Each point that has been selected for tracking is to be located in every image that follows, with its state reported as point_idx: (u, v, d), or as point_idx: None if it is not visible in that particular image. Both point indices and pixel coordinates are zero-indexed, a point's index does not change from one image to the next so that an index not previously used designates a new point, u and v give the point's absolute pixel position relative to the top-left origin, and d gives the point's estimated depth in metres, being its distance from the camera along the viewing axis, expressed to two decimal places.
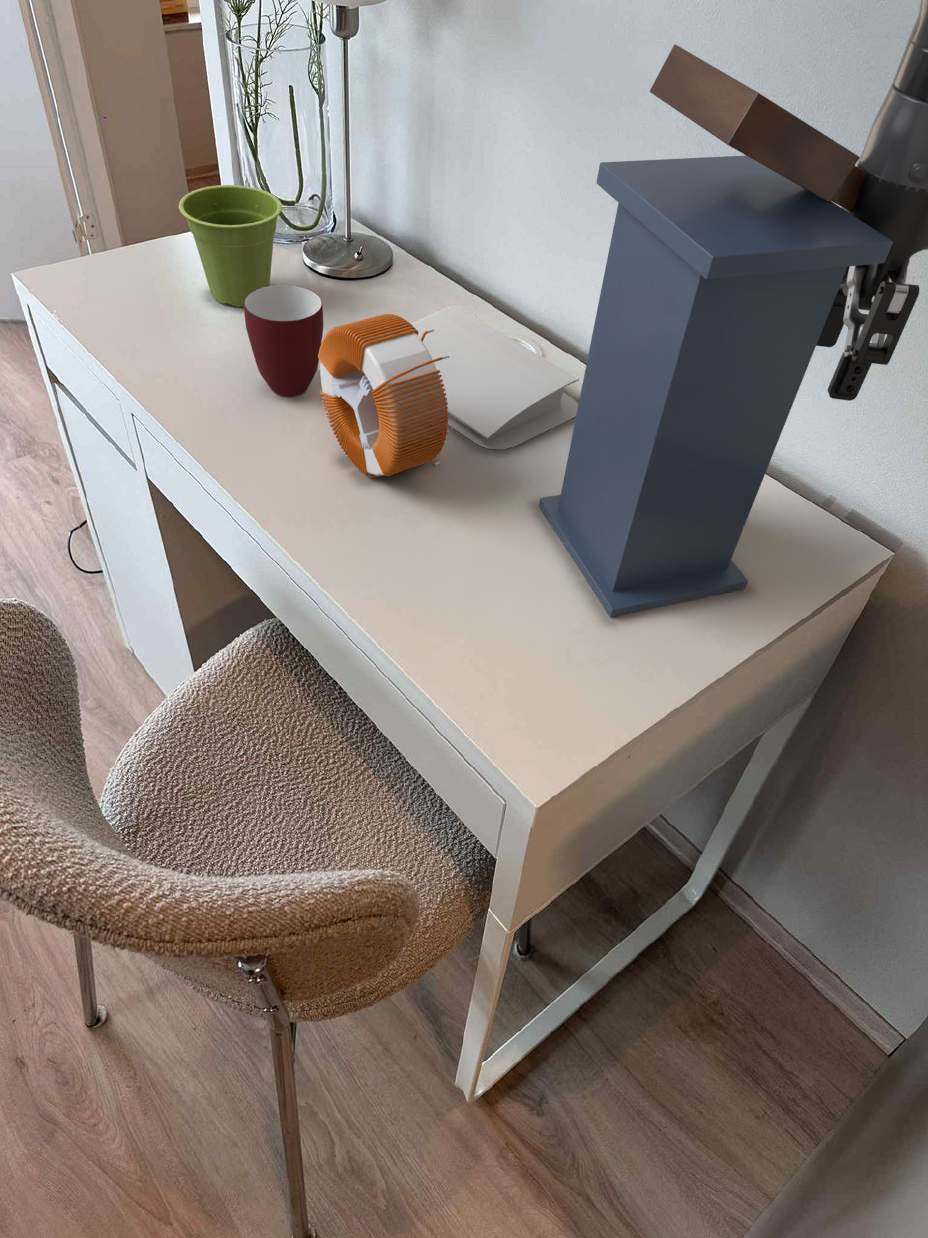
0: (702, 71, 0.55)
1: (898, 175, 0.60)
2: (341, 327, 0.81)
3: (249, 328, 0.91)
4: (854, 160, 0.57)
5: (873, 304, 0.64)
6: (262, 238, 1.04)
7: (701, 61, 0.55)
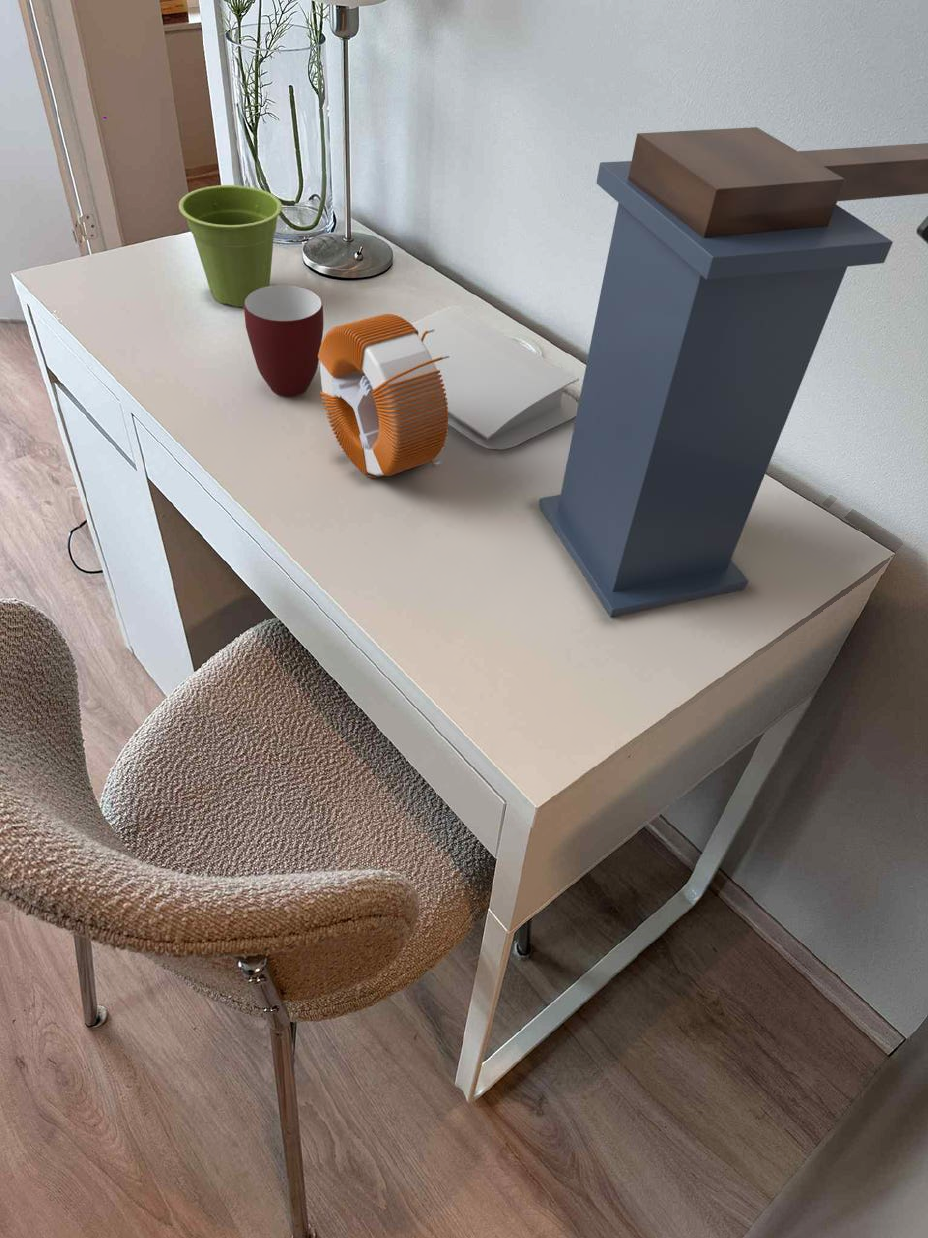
0: (666, 163, 0.58)
1: None
2: (341, 327, 0.81)
3: (249, 328, 0.91)
4: (840, 184, 0.58)
5: None
6: (262, 238, 1.04)
7: (663, 153, 0.58)
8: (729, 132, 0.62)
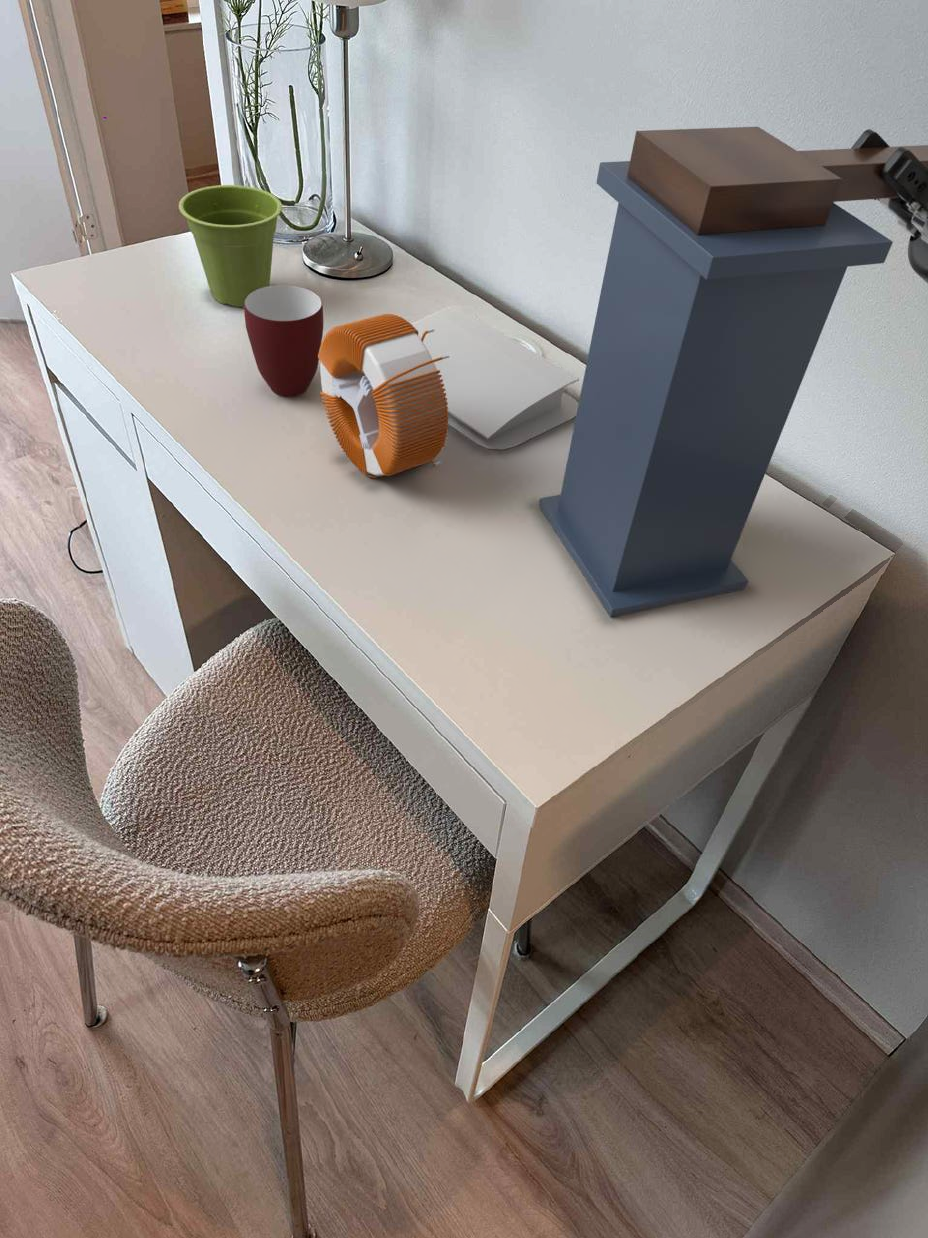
0: (663, 160, 0.59)
1: None
2: (341, 327, 0.81)
3: (249, 328, 0.91)
4: (837, 184, 0.58)
5: None
6: (262, 238, 1.04)
7: (660, 151, 0.59)
8: (729, 131, 0.62)
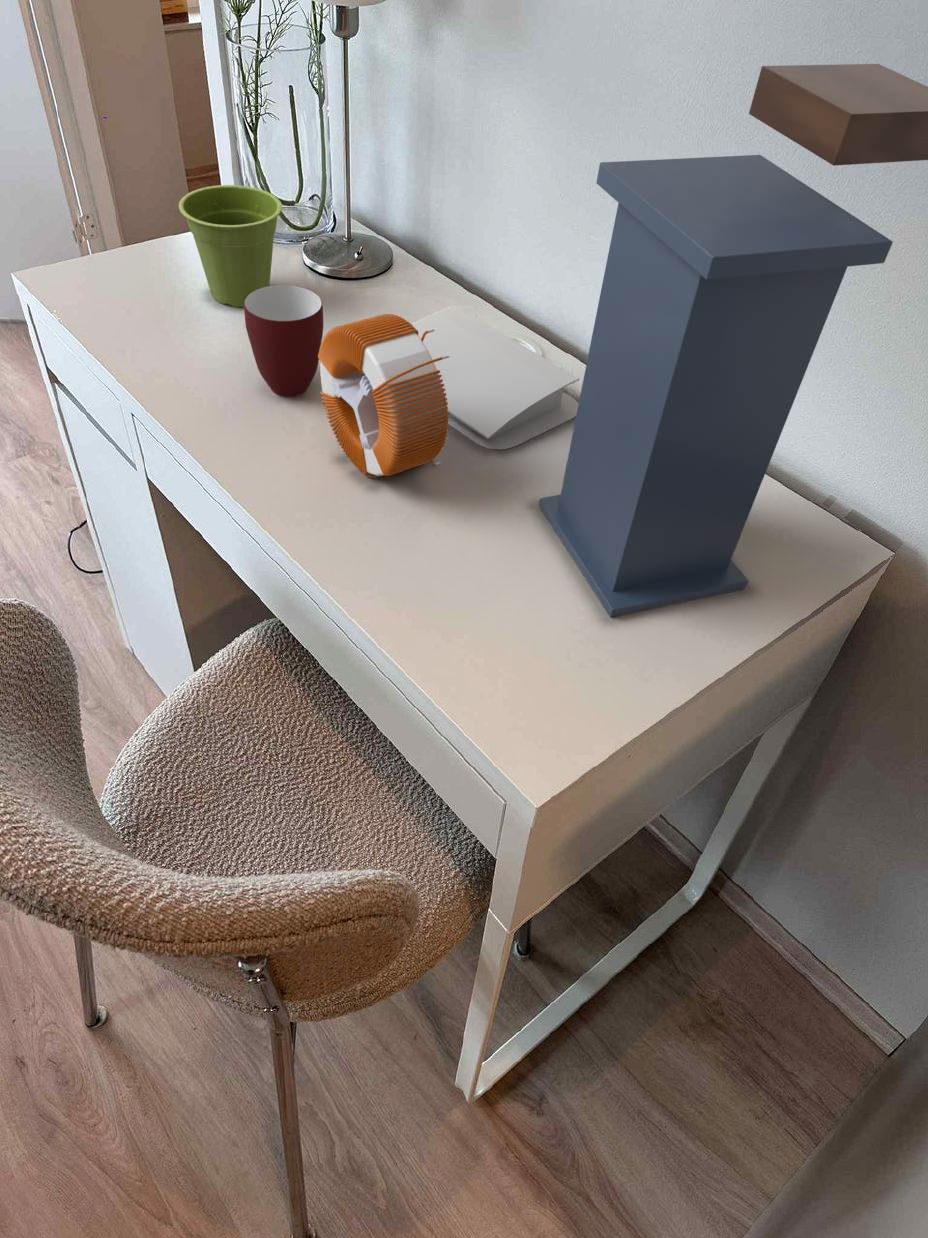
0: (794, 93, 0.58)
1: None
2: (341, 327, 0.81)
3: (249, 328, 0.91)
4: None
5: None
6: (262, 238, 1.04)
7: (791, 83, 0.59)
8: (852, 67, 0.62)
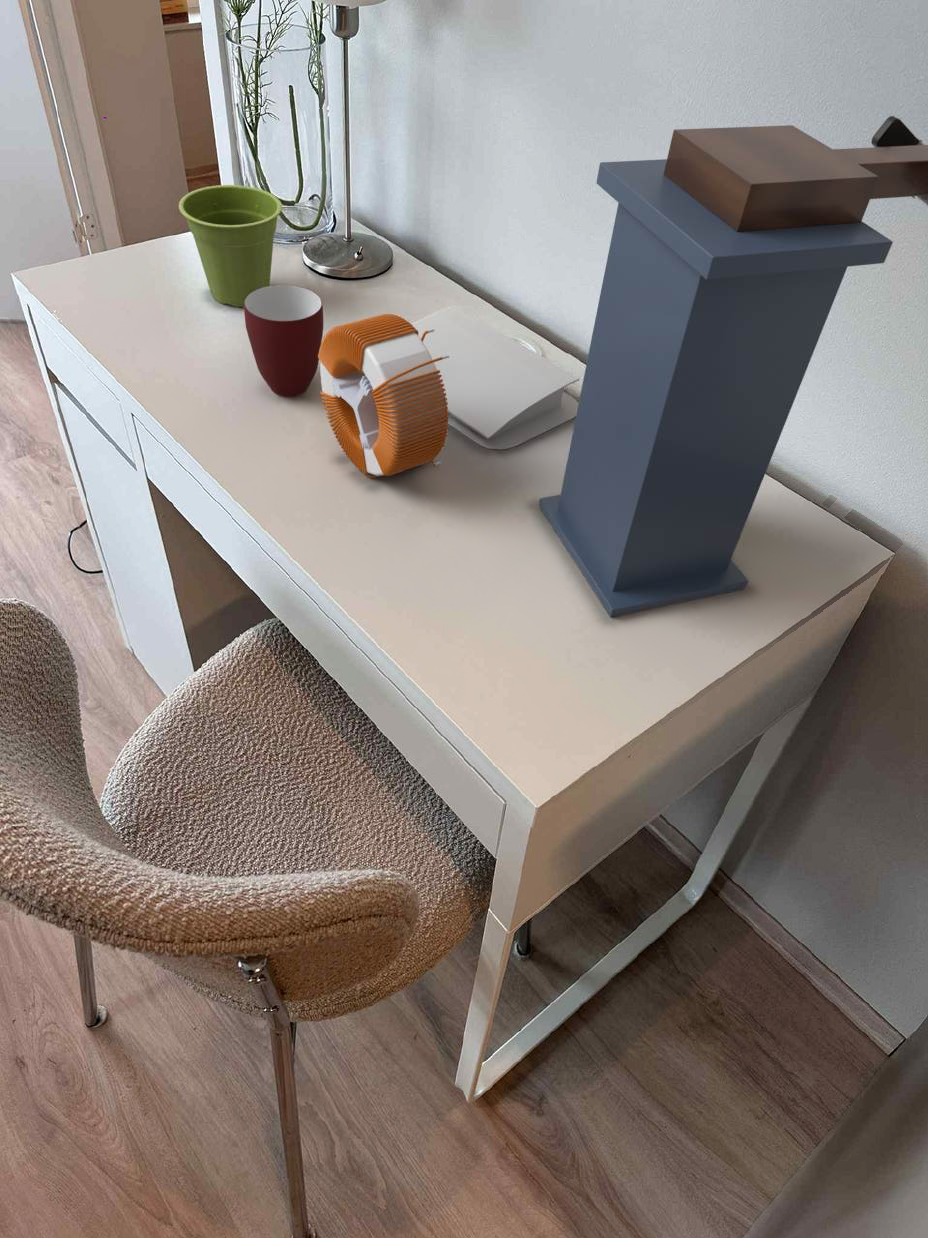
0: (702, 159, 0.59)
1: None
2: (341, 327, 0.81)
3: (249, 328, 0.91)
4: (873, 181, 0.58)
5: None
6: (262, 238, 1.04)
7: (699, 149, 0.60)
8: (765, 130, 0.63)
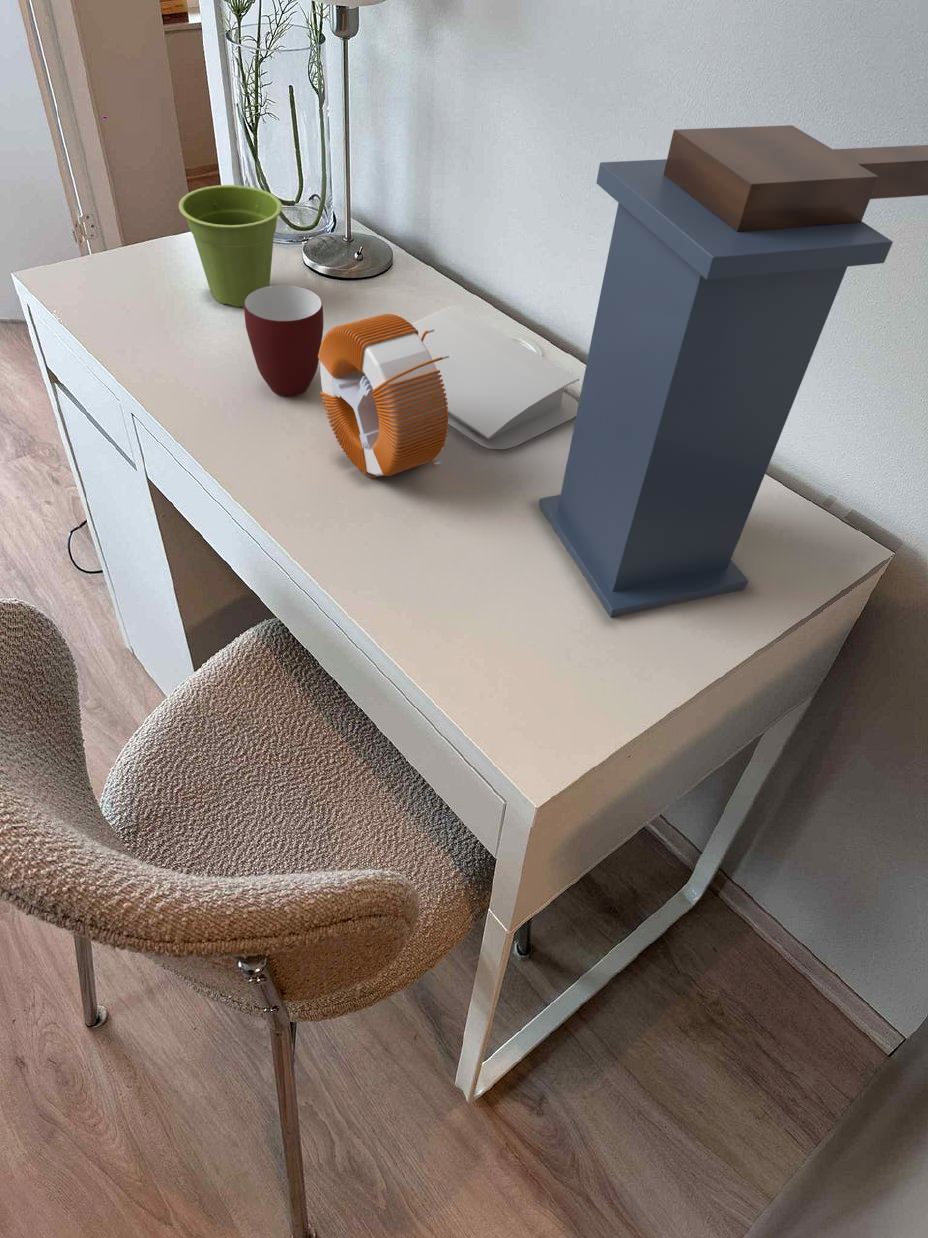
0: (702, 159, 0.59)
1: None
2: (341, 327, 0.81)
3: (249, 328, 0.91)
4: (873, 181, 0.58)
5: None
6: (262, 238, 1.04)
7: (699, 149, 0.60)
8: (765, 130, 0.63)
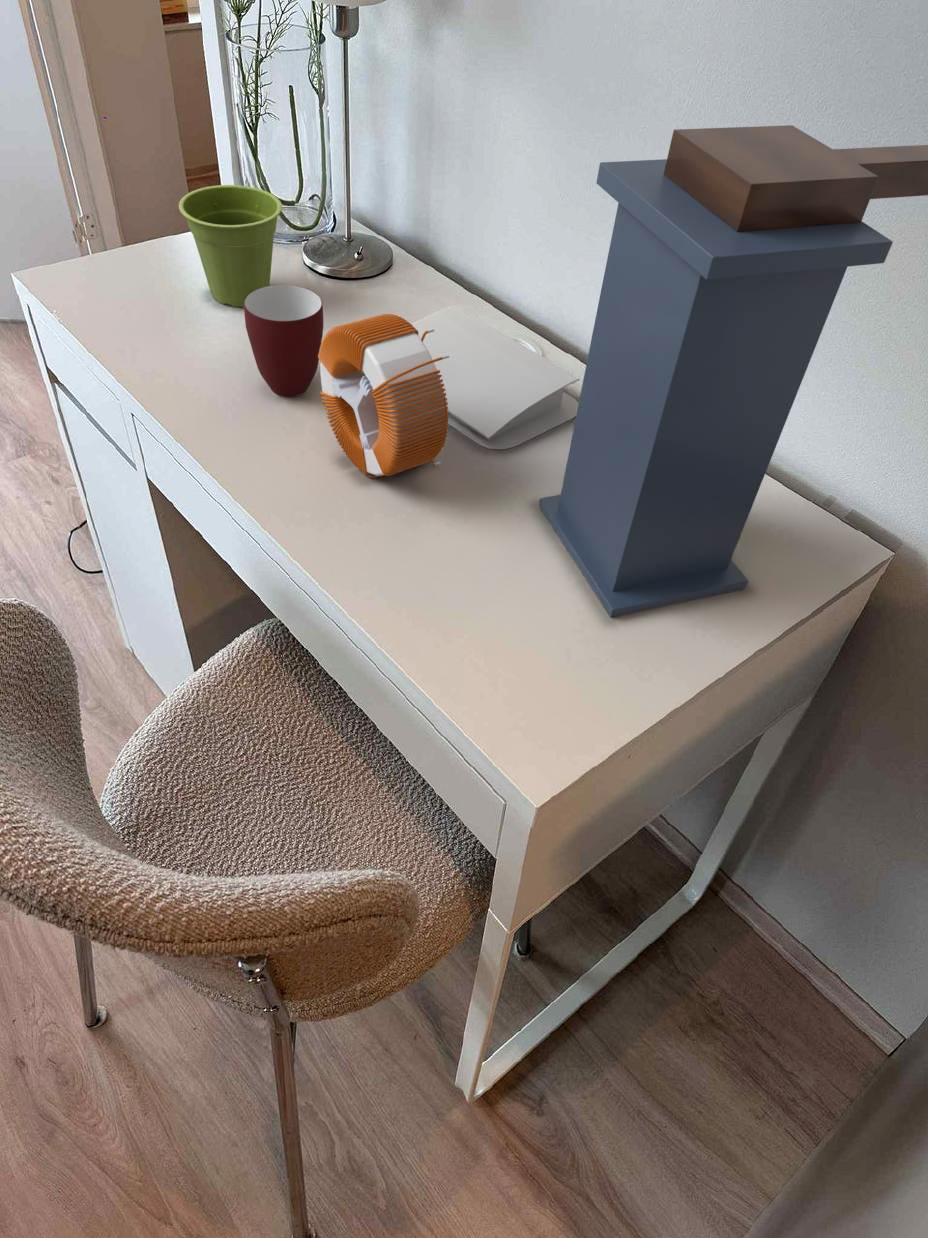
0: (702, 159, 0.59)
1: None
2: (341, 327, 0.81)
3: (249, 328, 0.91)
4: (873, 181, 0.58)
5: None
6: (262, 238, 1.04)
7: (699, 149, 0.60)
8: (765, 130, 0.63)
